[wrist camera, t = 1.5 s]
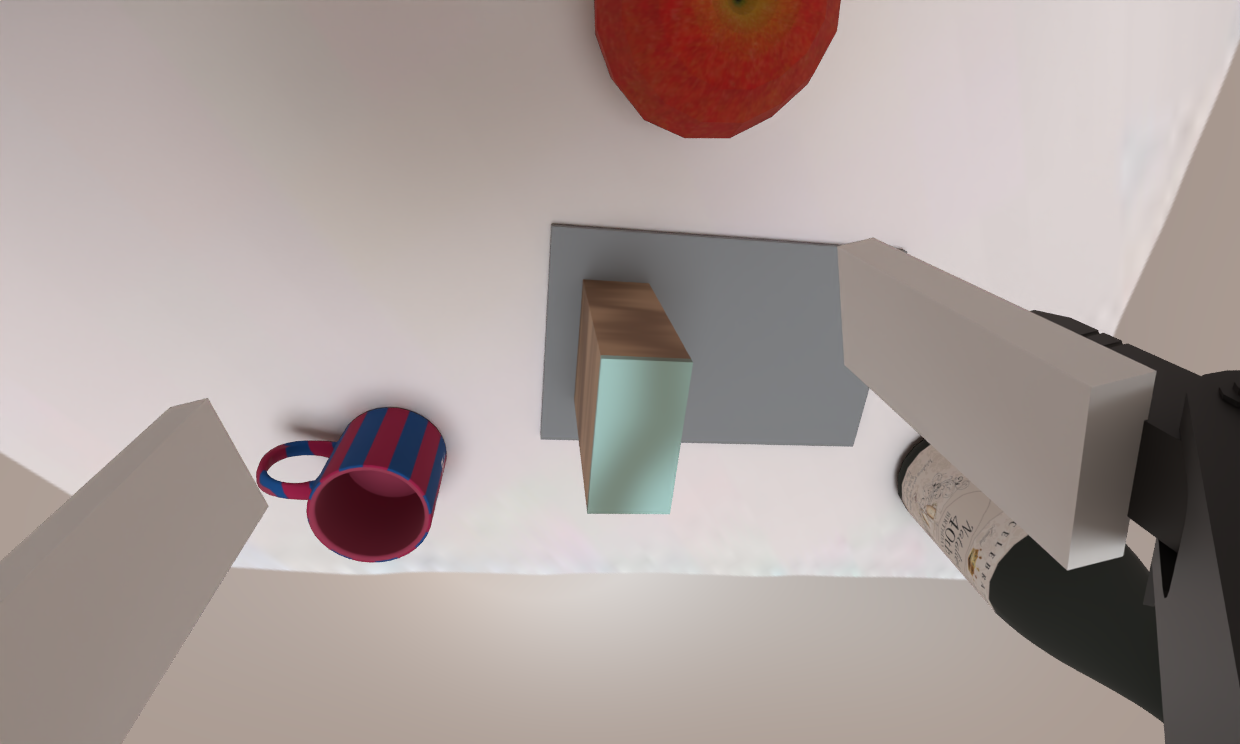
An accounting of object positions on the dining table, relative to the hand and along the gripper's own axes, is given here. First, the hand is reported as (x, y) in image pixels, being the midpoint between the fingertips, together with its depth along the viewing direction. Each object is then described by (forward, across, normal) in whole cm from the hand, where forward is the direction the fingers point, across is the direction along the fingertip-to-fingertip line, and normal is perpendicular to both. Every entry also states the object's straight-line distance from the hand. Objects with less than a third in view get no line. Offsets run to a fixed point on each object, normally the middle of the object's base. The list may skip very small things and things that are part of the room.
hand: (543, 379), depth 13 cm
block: (+25, +2, -10) cm, 27 cm away
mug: (+26, -15, -13) cm, 32 cm away
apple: (+26, +9, +7) cm, 28 cm away
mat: (+25, +9, -12) cm, 29 cm away
